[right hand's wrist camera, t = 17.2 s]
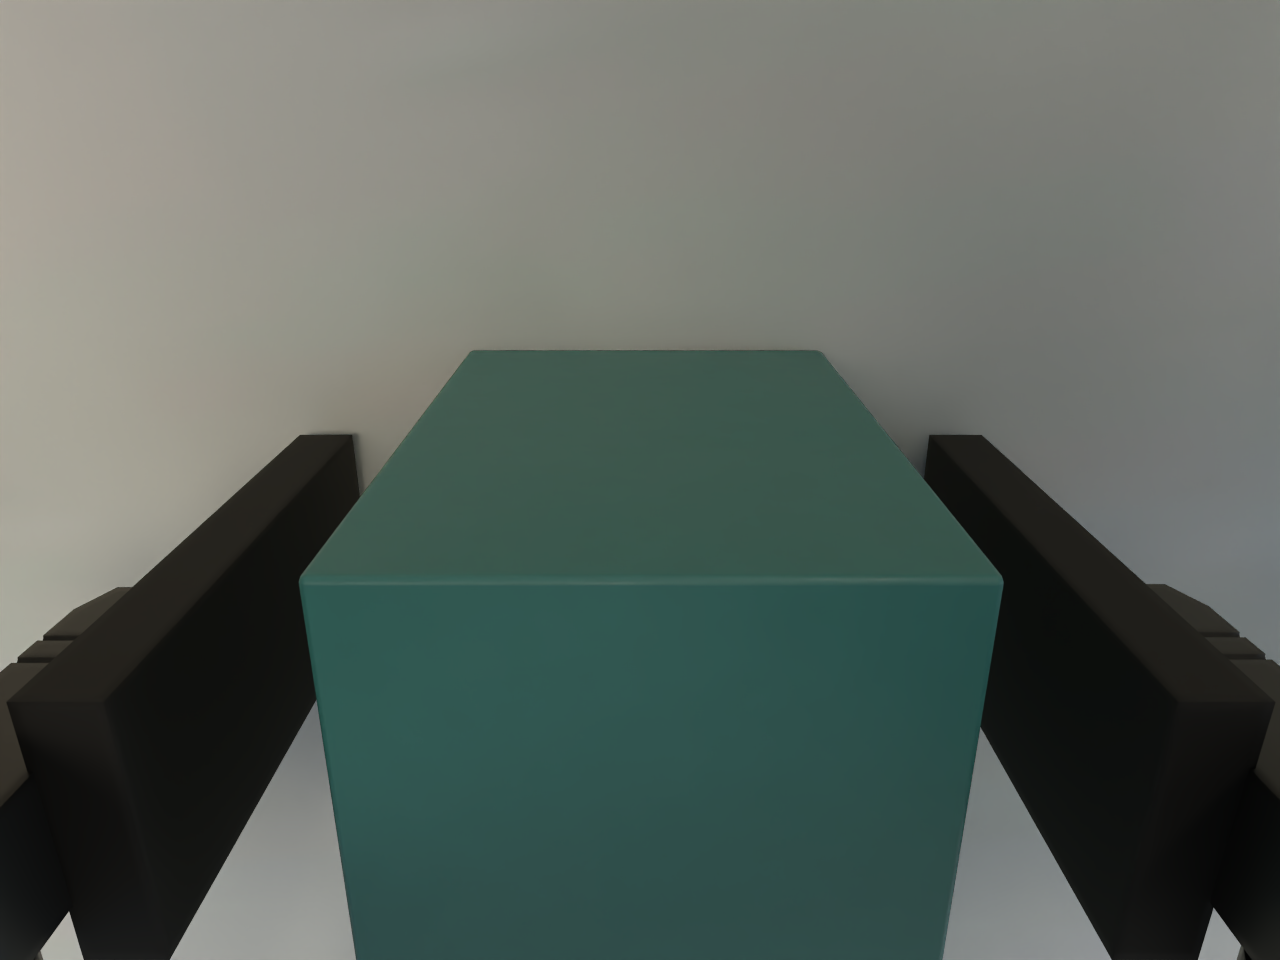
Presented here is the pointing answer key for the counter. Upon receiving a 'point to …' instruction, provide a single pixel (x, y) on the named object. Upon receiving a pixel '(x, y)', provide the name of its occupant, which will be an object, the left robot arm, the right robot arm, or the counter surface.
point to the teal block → (649, 669)
